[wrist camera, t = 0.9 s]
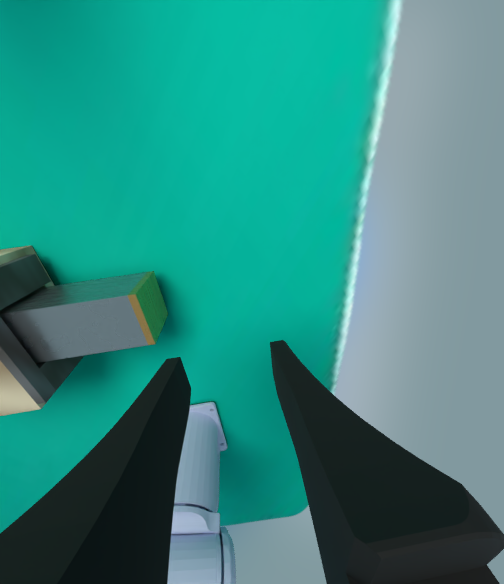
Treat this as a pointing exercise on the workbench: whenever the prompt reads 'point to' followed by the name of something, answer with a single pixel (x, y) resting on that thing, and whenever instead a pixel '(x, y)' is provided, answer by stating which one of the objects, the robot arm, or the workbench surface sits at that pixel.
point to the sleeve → (7, 349)
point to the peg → (88, 317)
